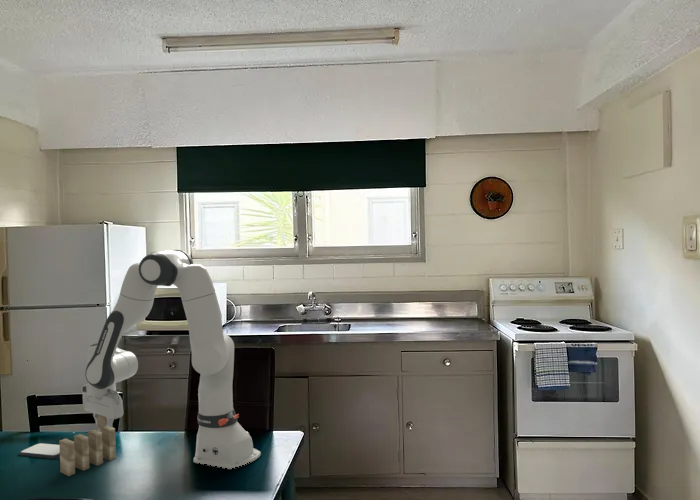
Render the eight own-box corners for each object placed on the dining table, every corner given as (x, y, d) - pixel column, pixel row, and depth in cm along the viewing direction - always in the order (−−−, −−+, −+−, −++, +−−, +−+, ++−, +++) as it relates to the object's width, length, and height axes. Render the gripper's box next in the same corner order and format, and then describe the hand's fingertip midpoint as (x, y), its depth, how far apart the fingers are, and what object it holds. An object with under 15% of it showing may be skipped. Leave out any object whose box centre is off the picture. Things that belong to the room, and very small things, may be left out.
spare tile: (103, 440, 191) (102, 412, 191) (111, 443, 188) (110, 415, 188) (98, 442, 189) (97, 414, 189) (106, 445, 186) (104, 416, 186)
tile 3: (81, 464, 173) (79, 433, 172) (89, 468, 170) (88, 437, 169) (75, 466, 171) (73, 435, 171) (83, 470, 168) (81, 439, 168)
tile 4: (67, 469, 169) (65, 438, 169) (75, 473, 166) (73, 441, 166) (60, 472, 167) (59, 440, 167) (68, 476, 164) (67, 443, 164)
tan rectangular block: (107, 455, 180) (106, 425, 180) (116, 458, 177) (114, 428, 177) (102, 457, 178) (100, 427, 178) (110, 460, 175) (109, 430, 175)
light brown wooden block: (94, 459, 176) (93, 429, 176) (103, 463, 173) (101, 432, 173) (88, 461, 175) (87, 431, 174) (97, 465, 172) (95, 434, 171)
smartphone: (17, 457, 182) (54, 460, 177) (17, 452, 182) (54, 455, 177) (39, 447, 190) (75, 450, 186) (39, 442, 190) (75, 445, 186)
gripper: (127, 389, 185) (129, 429, 185) (95, 381, 197) (97, 419, 197) (109, 394, 180) (111, 435, 180) (78, 386, 192) (80, 424, 192)
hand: (104, 426), depth 189 cm, fingers closed on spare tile, 5 cm apart
